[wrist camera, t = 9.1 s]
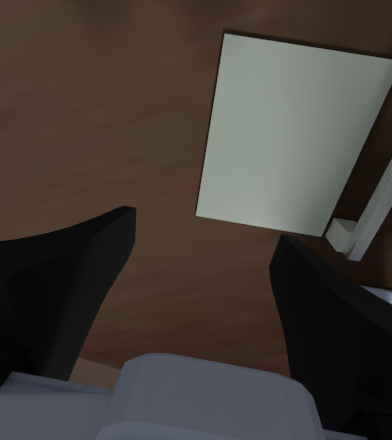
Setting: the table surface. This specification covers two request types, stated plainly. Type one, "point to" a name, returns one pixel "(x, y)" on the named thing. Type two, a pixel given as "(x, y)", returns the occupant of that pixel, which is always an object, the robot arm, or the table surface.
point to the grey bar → (371, 218)
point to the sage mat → (287, 132)
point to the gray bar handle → (340, 233)
